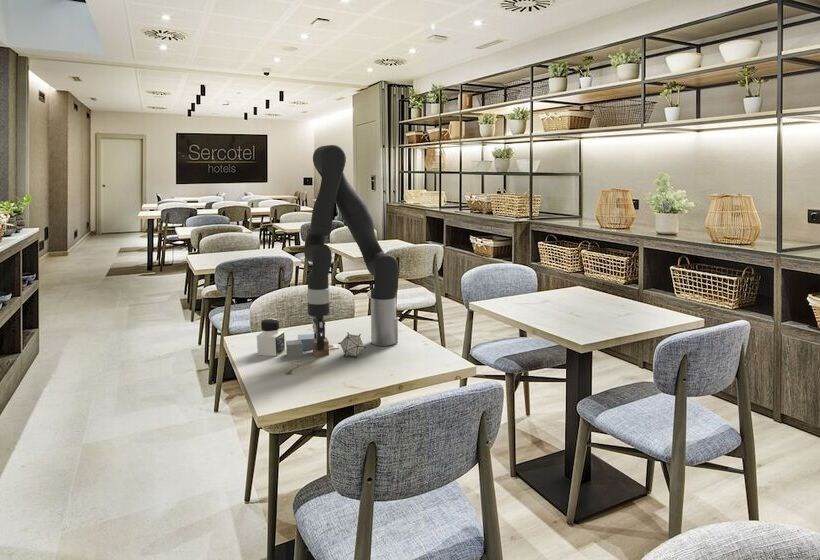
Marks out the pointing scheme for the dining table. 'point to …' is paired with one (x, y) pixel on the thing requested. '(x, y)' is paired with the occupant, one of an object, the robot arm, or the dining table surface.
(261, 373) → the dining table surface
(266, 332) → the medicine bottle
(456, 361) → the dining table surface
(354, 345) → the grey icosahedron
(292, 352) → the gray block
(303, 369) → the dining table surface
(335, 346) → the card
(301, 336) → the base block
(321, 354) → the walnut block
